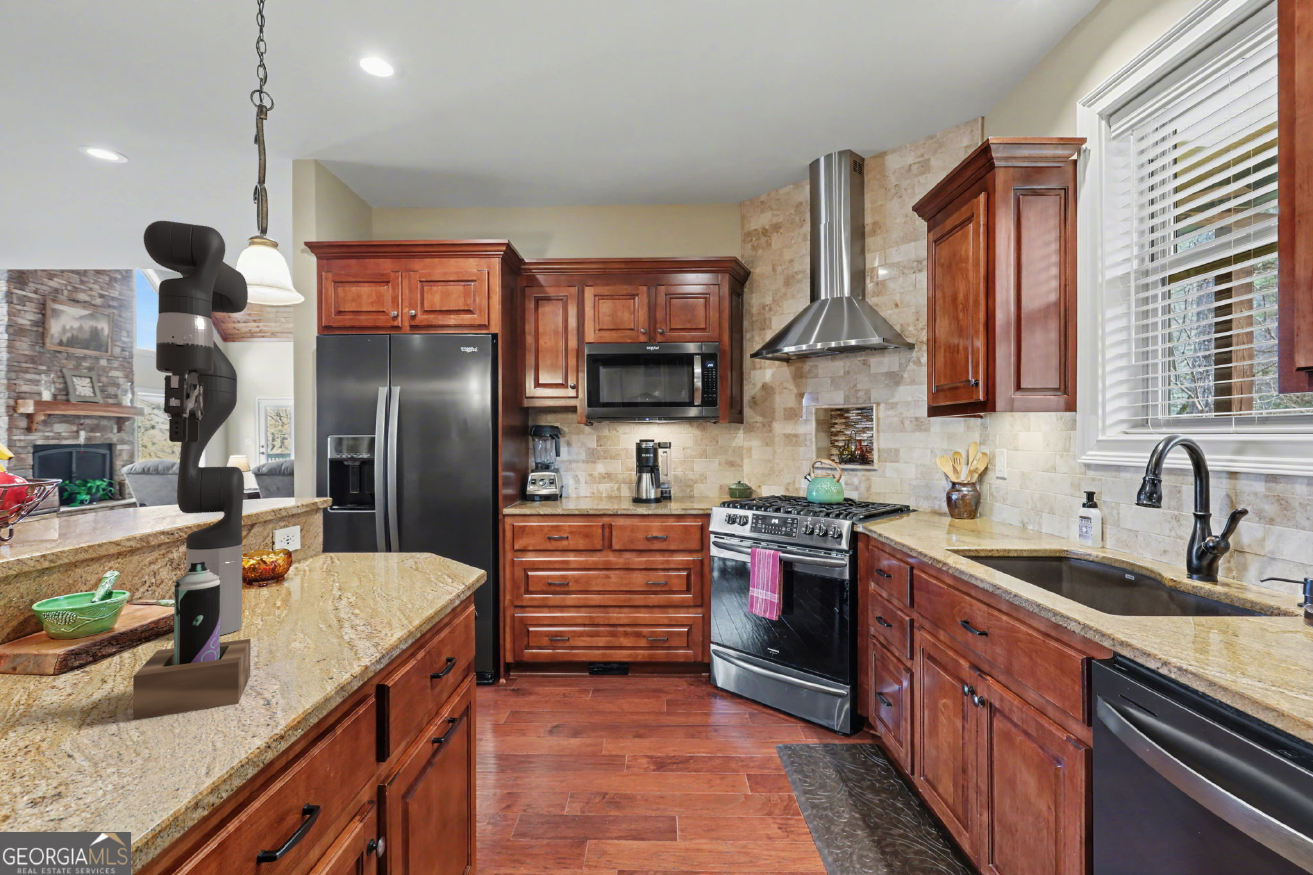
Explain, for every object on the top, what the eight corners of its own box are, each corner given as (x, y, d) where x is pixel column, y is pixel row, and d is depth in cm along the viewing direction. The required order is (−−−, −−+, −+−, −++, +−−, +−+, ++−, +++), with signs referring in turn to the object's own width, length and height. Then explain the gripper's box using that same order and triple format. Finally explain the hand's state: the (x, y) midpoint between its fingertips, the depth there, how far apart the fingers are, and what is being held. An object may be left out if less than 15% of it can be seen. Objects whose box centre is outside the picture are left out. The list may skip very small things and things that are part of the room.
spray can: (194, 704, 89) (195, 566, 89) (163, 701, 90) (165, 564, 90) (228, 689, 94) (229, 559, 94) (198, 687, 95) (199, 558, 95)
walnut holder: (157, 689, 94) (157, 649, 94) (250, 675, 100) (250, 638, 100) (132, 720, 84) (133, 675, 84) (238, 703, 89) (238, 661, 89)
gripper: (168, 348, 106) (167, 442, 106) (143, 335, 93) (142, 442, 93) (221, 351, 109) (220, 442, 109) (204, 339, 97) (203, 442, 96)
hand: (184, 442), depth 101 cm, fingers open, 8 cm apart
